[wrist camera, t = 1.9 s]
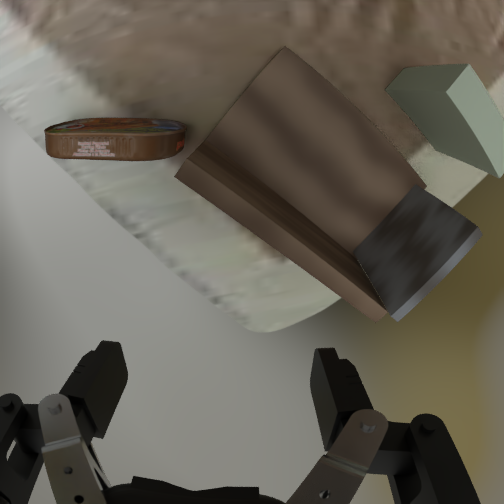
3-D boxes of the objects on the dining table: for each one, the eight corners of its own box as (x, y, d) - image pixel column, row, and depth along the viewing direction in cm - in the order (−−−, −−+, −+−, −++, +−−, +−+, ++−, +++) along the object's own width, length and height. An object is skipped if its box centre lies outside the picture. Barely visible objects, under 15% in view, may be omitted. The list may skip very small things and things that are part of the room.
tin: (193, 121, 30) (176, 128, 22) (190, 150, 31) (173, 166, 24) (70, 118, 29) (28, 128, 21) (70, 144, 30) (29, 160, 23)
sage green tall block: (404, 68, 27) (469, 63, 16) (453, 129, 30) (519, 150, 19) (384, 89, 28) (445, 92, 17) (435, 150, 31) (499, 178, 20)
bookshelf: (282, 49, 26) (308, 14, 14) (418, 181, 33) (490, 228, 21) (198, 149, 31) (167, 184, 19) (344, 261, 38) (382, 336, 26)
